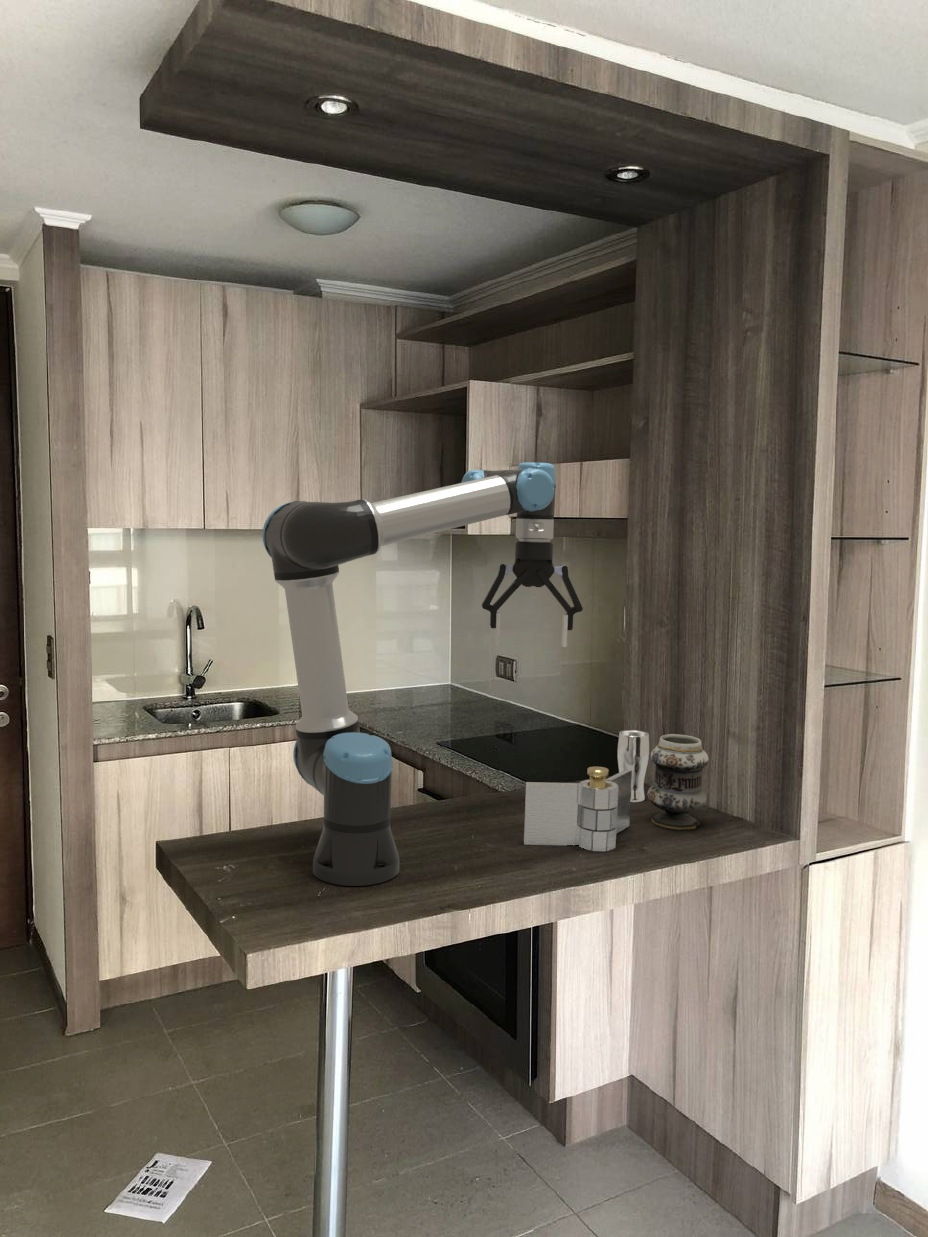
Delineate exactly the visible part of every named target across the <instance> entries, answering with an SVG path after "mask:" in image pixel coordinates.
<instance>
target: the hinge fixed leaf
mask: <svg viewBox="0 0 928 1237" xmlns="http://www.w3.org/2000/svg"><path fill="white" fill-rule="evenodd" d="M524 804H525V805H524V824H523V825H524V827H523V828H524V830H523V833H524V834H523V845H525V846H526V845H528V846H567V845H573V847H574V845H579V846H578V847H579V848H580V847H581V849H583V848H584V849H585V850H586V851H592V852H609V851H611V850H614V849H616V846H617V845H616V842H617V834H616V827H615V828H613V829H611V830H598V831H597V830H591V829H587V828H583V827H581V826H580V825H579V824H578V809H579V804H581V805H582V806H584V807H588V808H591V809H611V808H614V807H617V805H618V785H617V784H616V783H614V782H611V781H607V780H606V782H605V788H595V787H591V786H590V779H585V780H582V781H580V782H545V781H544V782H538V781H537V782H534V781H532V782H531V781H526V782H525V802H524Z"/></svg>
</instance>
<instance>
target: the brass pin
mask: <svg viewBox="0 0 928 1237" xmlns="http://www.w3.org/2000/svg"><path fill="white" fill-rule="evenodd" d="M609 772H610V771H609V768H607V767H604V766H589V767H587V775H588V776H589V780H590V786H591V787H595V788H605V782H606V779H607V777H608V776H609Z"/></svg>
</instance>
